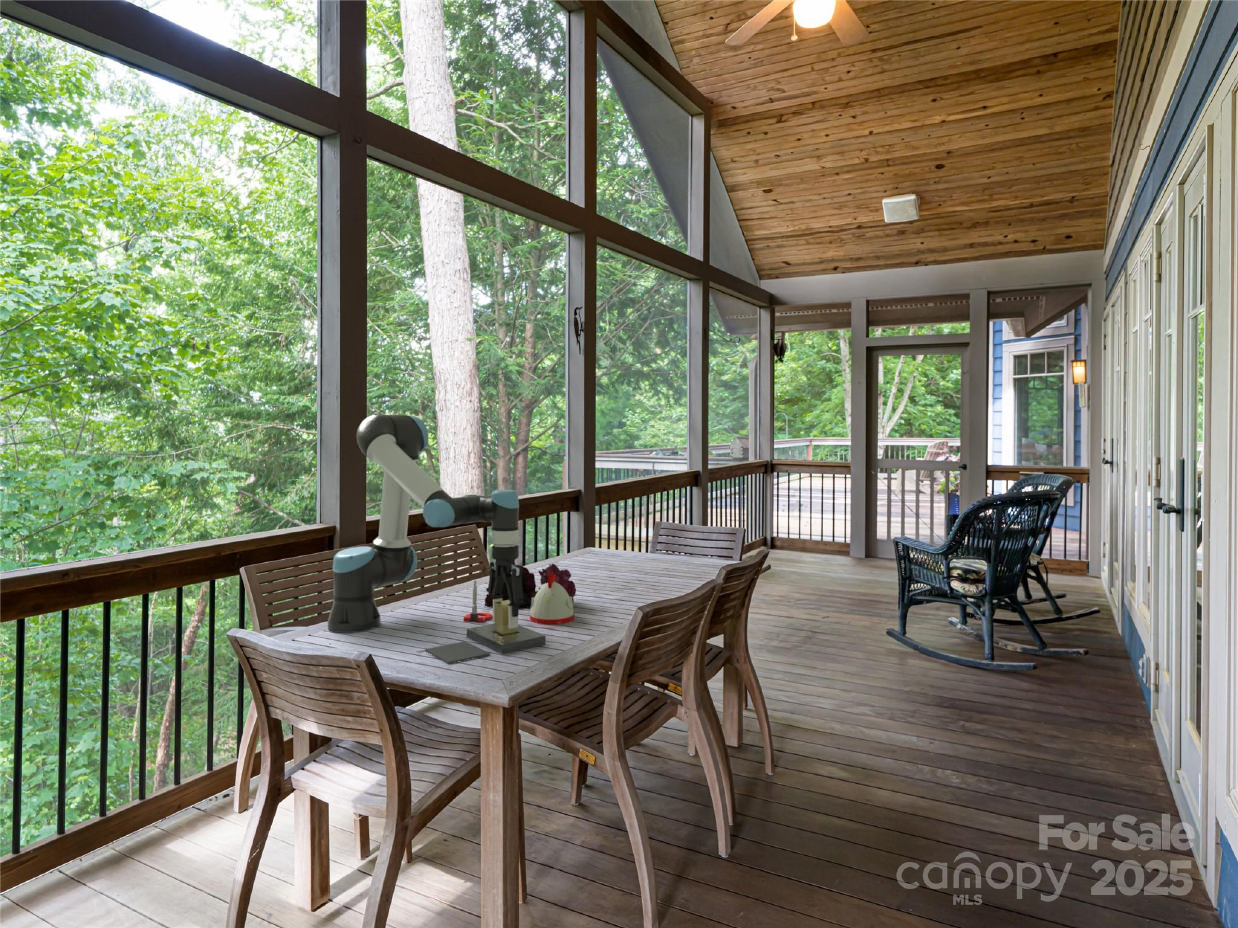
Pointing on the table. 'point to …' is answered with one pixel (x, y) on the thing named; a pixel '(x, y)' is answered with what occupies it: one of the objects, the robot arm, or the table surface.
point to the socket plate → (506, 638)
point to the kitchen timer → (551, 604)
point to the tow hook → (474, 614)
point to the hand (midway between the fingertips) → (505, 624)
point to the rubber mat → (457, 652)
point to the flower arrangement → (530, 585)
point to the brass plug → (502, 619)
